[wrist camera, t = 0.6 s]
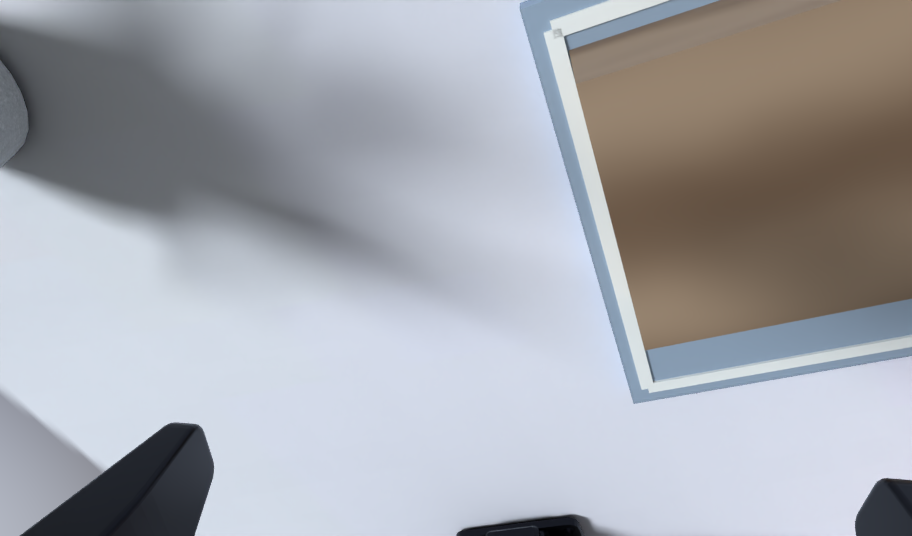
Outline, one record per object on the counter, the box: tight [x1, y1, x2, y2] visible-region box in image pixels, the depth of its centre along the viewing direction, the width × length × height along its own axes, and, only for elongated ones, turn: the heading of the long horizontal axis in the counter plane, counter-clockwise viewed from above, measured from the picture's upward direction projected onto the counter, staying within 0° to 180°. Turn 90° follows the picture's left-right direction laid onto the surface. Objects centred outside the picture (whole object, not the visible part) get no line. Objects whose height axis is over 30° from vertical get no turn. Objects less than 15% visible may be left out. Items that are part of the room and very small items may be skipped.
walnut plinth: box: [569, 0, 912, 350], centre depth 18 cm, size 9×9×3 cm
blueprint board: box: [520, 0, 912, 404], centre depth 20 cm, size 16×11×1 cm
